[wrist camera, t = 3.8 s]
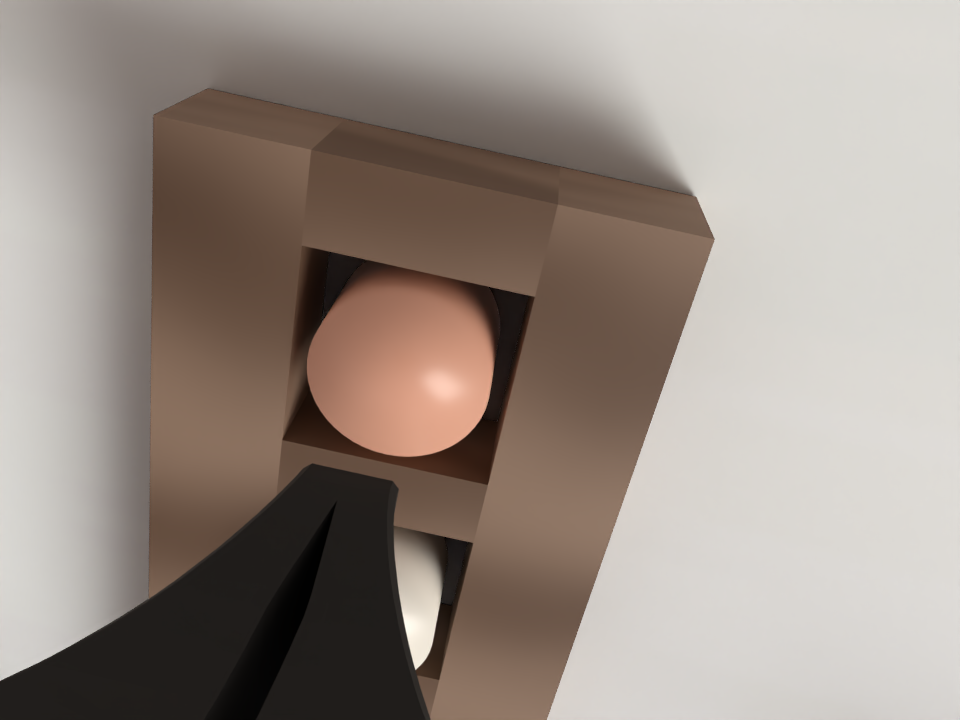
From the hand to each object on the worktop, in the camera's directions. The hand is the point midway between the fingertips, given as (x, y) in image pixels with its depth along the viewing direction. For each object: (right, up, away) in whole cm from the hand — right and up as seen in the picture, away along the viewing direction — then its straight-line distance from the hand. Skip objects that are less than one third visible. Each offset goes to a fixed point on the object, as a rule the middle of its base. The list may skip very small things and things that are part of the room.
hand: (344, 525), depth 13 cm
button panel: (0, -2, +9) cm, 9 cm away
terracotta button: (+1, +4, +7) cm, 8 cm away
